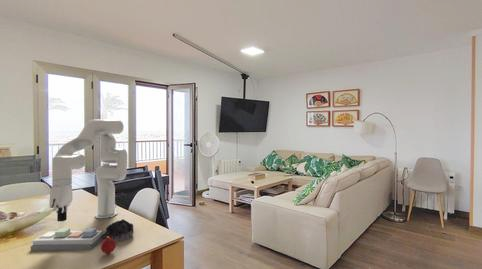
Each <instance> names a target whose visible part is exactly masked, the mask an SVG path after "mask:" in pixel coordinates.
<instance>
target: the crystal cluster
mask: <svg viewBox="0 0 482 269" xmlns="http://www.w3.org/2000/svg"><path fill="white" fill-rule="evenodd" d="M105 230H106V231H105V232H104V238H103V239H104V240H105V239H106V238H107V236H109V237H110V238H112V239H113V240H114V241H115V242H116V243H119V242H123V241H125V240H127V239H129V238H131V237H132V236H133V235H134V224H133V223H130V222H129V221H127V220H125V219H123V218H122V219H121V220H117V221H114V222H112V223H111V224H109V225H108V226H106V229H105Z"/></svg>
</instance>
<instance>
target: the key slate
mask: <svg viewBox="0 0 482 269" xmlns="http://www.w3.org/2000/svg"><path fill="white" fill-rule="evenodd" d="M82 231H83V237H92V236H94V235H95V234H96V233H97V231H98V230H97V227H88V228H85V230H82Z"/></svg>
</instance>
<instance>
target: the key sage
mask: <svg viewBox="0 0 482 269" xmlns="http://www.w3.org/2000/svg"><path fill="white" fill-rule="evenodd" d="M55 231H56V232H55V237H66V236H67V235H69V234H70V231H71V228H70V227H69V228H67V227H66V228H62V227H61V228H59V229H58V230H55Z"/></svg>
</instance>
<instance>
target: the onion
mask: <svg viewBox="0 0 482 269" xmlns="http://www.w3.org/2000/svg"><path fill="white" fill-rule="evenodd" d="M116 243H117V242H115V241H114V240H113V239H112V238H110V237H109V236H107V238H106V239H105V238H104V240H103V241H102V242H101V244H100V250H101V252H102V253H104V254H106V255H110V254H111V253H113V252H114V251H115V249H116V246H117V245H116Z"/></svg>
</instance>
